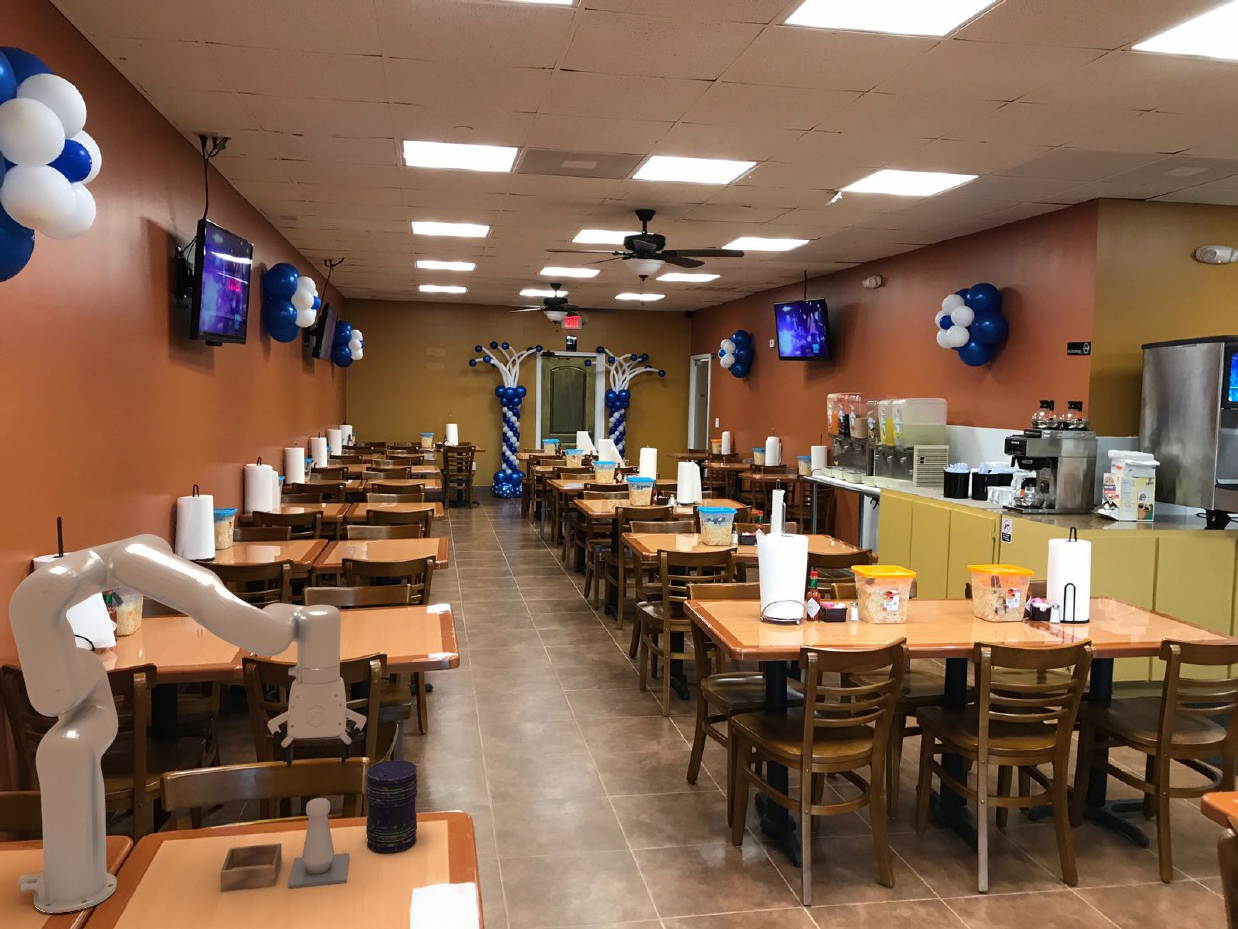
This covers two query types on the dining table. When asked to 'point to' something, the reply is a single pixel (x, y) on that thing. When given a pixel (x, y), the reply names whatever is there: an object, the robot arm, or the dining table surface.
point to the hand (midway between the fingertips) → (316, 764)
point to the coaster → (331, 876)
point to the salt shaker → (318, 837)
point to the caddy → (251, 875)
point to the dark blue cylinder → (391, 806)
